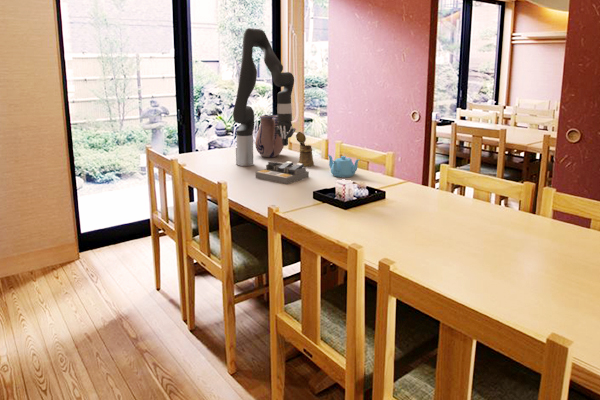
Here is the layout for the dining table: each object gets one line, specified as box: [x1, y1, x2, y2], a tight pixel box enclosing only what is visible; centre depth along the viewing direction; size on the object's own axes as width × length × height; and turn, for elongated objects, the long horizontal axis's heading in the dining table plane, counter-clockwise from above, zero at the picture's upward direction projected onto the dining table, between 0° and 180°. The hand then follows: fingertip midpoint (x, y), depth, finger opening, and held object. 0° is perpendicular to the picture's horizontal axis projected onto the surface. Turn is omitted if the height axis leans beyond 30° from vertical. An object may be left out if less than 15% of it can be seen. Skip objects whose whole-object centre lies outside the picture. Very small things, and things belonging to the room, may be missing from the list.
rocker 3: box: [289, 162, 305, 173], centre depth 265 cm, size 4×8×2 cm, turn 142°
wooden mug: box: [295, 131, 315, 168], centre depth 295 cm, size 9×14×18 cm, turn 27°
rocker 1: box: [267, 161, 284, 166], centre depth 273 cm, size 4×8×2 cm, turn 142°
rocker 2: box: [278, 160, 294, 171], centre depth 269 cm, size 4×8×2 cm, turn 142°
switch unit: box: [255, 162, 310, 185], centre depth 267 cm, size 21×18×6 cm
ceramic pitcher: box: [255, 114, 285, 158], centre depth 314 cm, size 18×21×25 cm
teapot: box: [327, 154, 361, 178], centre depth 271 cm, size 15×15×10 cm
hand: (285, 145), depth 270 cm, fingers closed
